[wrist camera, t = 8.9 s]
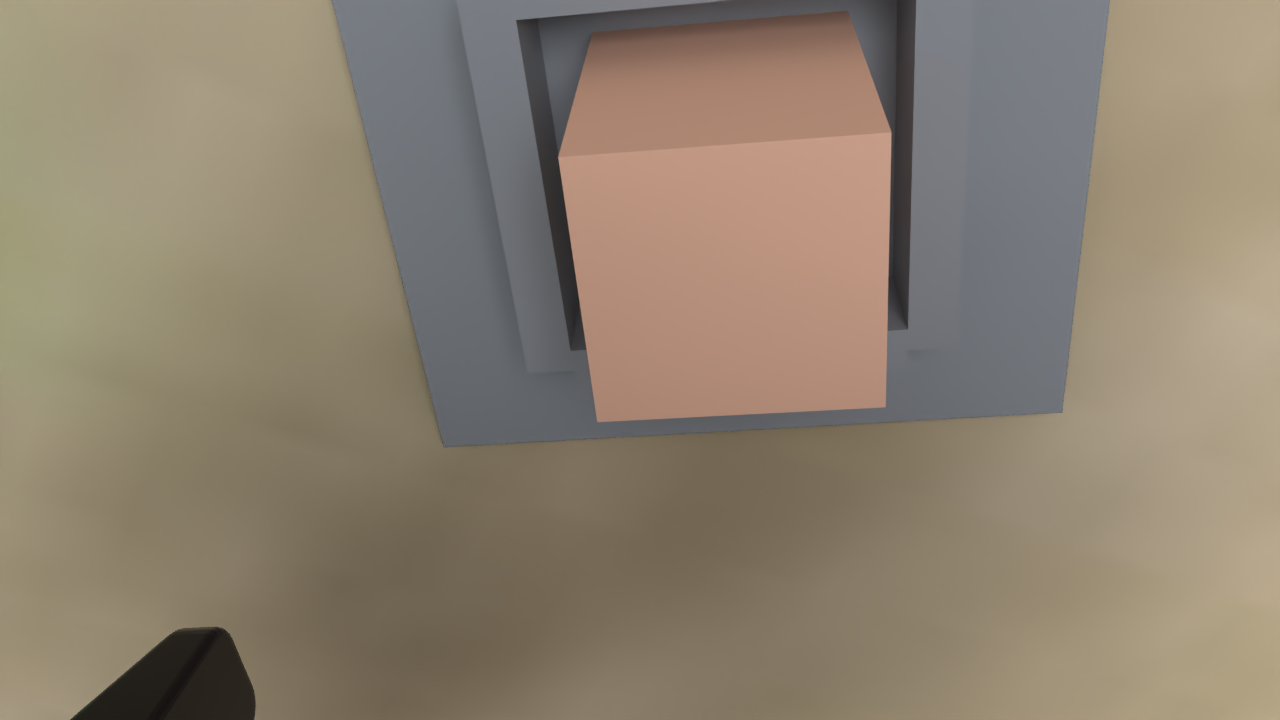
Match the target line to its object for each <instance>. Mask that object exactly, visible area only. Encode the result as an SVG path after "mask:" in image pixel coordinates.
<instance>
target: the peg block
mask: <svg viewBox="0 0 1280 720" xmlns="http://www.w3.org/2000/svg"><path fill="white" fill-rule="evenodd" d="M891 135H892V132H891V129H890V127H889V124H888V121H887V118H886V116H885V113H884V110H883V107H882V104H881V102H880V99H879V96H878V93H877V90H876V88H875V85H874V82H873V79H872V77H871V74H870V71H869V68H868V65H867V63H866V60H865V57H864V54H863V51H862V49H861V46H860V43H859V40H858V38H857V35H856V32H855V29H854V26H853V24H852V21H851V18H850V15H849V12H848V10H847V11H836V12H824V13H812V14H800V15H788V16H776V17H765V18H753V19H741V20H729V21H717V22H705V23H694V24H682V25H670V26H658V27H646V28H634V29H623V30H611V31H599V32H592V36H591V39H590V43H589V47H588V50H587V54H586V58H585V61H584V65H583V69H582V72H581V76H580V80H579V83H578V87H577V90H576V94H575V98H574V101H573V105H572V109H571V112H570V116H569V120H568V123H567V127H566V131H565V134H564V138H563V141H562V145H561V149H560V152H559V156H558V159H559V166H560V173H561V180H562V186H563V193H564V200H565V207H566V213H567V220H568V227H569V234H570V241H571V247H572V254H573V261H574V268H575V274H576V281H577V288H578V295H579V301H580V308H581V315H582V322H583V329H584V335H585V342H586V349H587V356H588V362H589V369H590V376H591V383H592V390H593V396H594V403H595V410H596V417H597V422H611V421H630V420H650V419H669V418H688V417H708V416H727V415H746V414H766V413H785V412H804V411H824V410H843V409H862V408H881V407H886V370H887V323H888V276H889V229H890V182H891Z"/></svg>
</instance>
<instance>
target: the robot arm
mask: <svg viewBox="0 0 1280 720" xmlns="http://www.w3.org/2000/svg"><path fill="white" fill-rule="evenodd" d="M255 706H256V705H255V694H254V690H253V686H252V684H251V682H250V679H249V677H248V675H247V672H246V670H245V668H244V665H243V663H242V661H241V658H240V656H239V653H238V651H237V649H236V646H235V644H234V642H233V639H232V638H231V636H230V634H229V633H228V632H227V631H226V630H225V629H223V628H219V627H200V628H183V629H179V630H177V631H175V632H173V633H171V634H170V635H169V636H167V637H166V638H165V639H164V640H163V641H162V642H160V643H159V644H158V645H157V646H156V647H154V648H153V649H152V650H151V651H150V652H149V653H147V654H146V655H145V656H144V657H143V658H142V659H140V660H139V661H138V662H137V663H136V664H135V665H133V666H132V667H131V668H130V669H129V670H128V671H126V672H125V673H124V674H123V675H122V676H121V677H119V678H118V679H117V680H116V681H115V682H114V683H112V684H111V685H110V686H109V687H108V688H106V689H105V690H104V691H103V692H102V693H101V694H99V695H98V696H97V697H96V698H95V699H94V700H92V701H91V702H90V703H89V704H88V705H87V706H85V707H84V708H83V709H82V710H81V711H80V712H78V713H77V714H76V715H75V716H74V717H73V718H71V719H70V720H254V717H255Z"/></svg>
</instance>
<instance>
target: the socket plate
mask: <svg viewBox="0 0 1280 720" xmlns="http://www.w3.org/2000/svg"><path fill="white" fill-rule="evenodd" d="M332 2H333V6H334V10H335V14H336V18H337V22H338V26H339V30H340V34H341V38H342V42H343V46H344V50H345V54H346V58H347V62H348V66H349V70H350V74H351V78H352V82H353V86H354V90H355V94H356V98H357V102H358V106H359V110H360V114H361V118H362V122H363V126H364V130H365V134H366V138H367V142H368V146H369V150H370V154H371V158H372V162H373V166H374V170H375V174H376V178H377V182H378V186H379V190H380V194H381V198H382V202H383V206H384V210H385V214H386V218H387V222H388V226H389V230H390V234H391V238H392V242H393V246H394V250H395V254H396V258H397V262H398V266H399V270H400V274H401V278H402V282H403V286H404V290H405V294H406V298H407V302H408V306H409V310H410V314H411V319H412V323H413V327H414V331H415V335H416V339H417V343H418V347H419V351H420V355H421V359H422V363H423V367H424V371H425V375H426V379H427V383H428V387H429V391H430V395H431V399H432V403H433V407H434V411H435V415H436V419H437V423H438V427H439V431H440V435H441V439H442V443H443V447H455V446H473V445H491V444H508V443H526V442H544V441H562V440H580V439H598V438H616V437H634V436H652V435H669V434H687V433H705V432H723V431H741V430H759V429H777V428H795V427H813V426H830V425H848V424H866V423H884V422H902V421H920V420H938V419H956V418H974V417H991V416H1009V415H1027V414H1045V413H1062V410H1063V401H1064V392H1065V384H1066V375H1067V367H1068V358H1069V349H1070V341H1071V332H1072V323H1073V315H1074V306H1075V297H1076V289H1077V280H1078V271H1079V263H1080V254H1081V246H1082V237H1083V228H1084V220H1085V211H1086V202H1087V194H1088V185H1089V176H1090V168H1091V159H1092V150H1093V142H1094V133H1095V125H1096V116H1097V107H1098V99H1099V90H1100V81H1101V73H1102V64H1103V55H1104V47H1105V38H1106V30H1107V21H1108V12H1109V4H1110V0H332ZM847 10H848V12H849V15H850V18H851V21H852V24H853V26H854V29H855V32H856V35H857V38H858V40H859V43H860V46H861V49H862V51H863V54H864V57H865V60H866V63H867V65H868V68H869V71H870V74H871V77H872V79H873V82H874V85H875V88H876V90H877V93H878V96H879V99H880V102H881V104H882V107H883V110H884V113H885V116H886V118H887V121H888V124H889V127H890V129H891V132H892V135H891V182H890V229H889V276H888V323H887V370H886V407H881V408H862V409H843V410H824V411H804V412H785V413H766V414H746V415H727V416H708V417H688V418H669V419H650V420H630V421H611V422H597V417H596V410H595V403H594V396H593V390H592V383H591V376H590V369H589V362H588V356H587V349H586V342H585V335H584V329H583V322H582V315H581V308H580V301H579V295H578V288H577V281H576V274H575V268H574V261H573V254H572V247H571V241H570V234H569V227H568V220H567V213H566V207H565V200H564V193H563V186H562V180H561V173H560V166H559V159H558V156H559V152H560V149H561V145H562V141H563V138H564V134H565V131H566V127H567V123H568V120H569V116H570V112H571V109H572V105H573V101H574V98H575V94H576V90H577V87H578V83H579V80H580V76H581V72H582V69H583V65H584V61H585V58H586V54H587V50H588V47H589V43H590V39H591V36H592V32H599V31H611V30H623V29H634V28H646V27H658V26H670V25H682V24H694V23H705V22H717V21H729V20H741V19H753V18H765V17H776V16H788V15H800V14H812V13H824V12H836V11H847Z"/></svg>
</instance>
